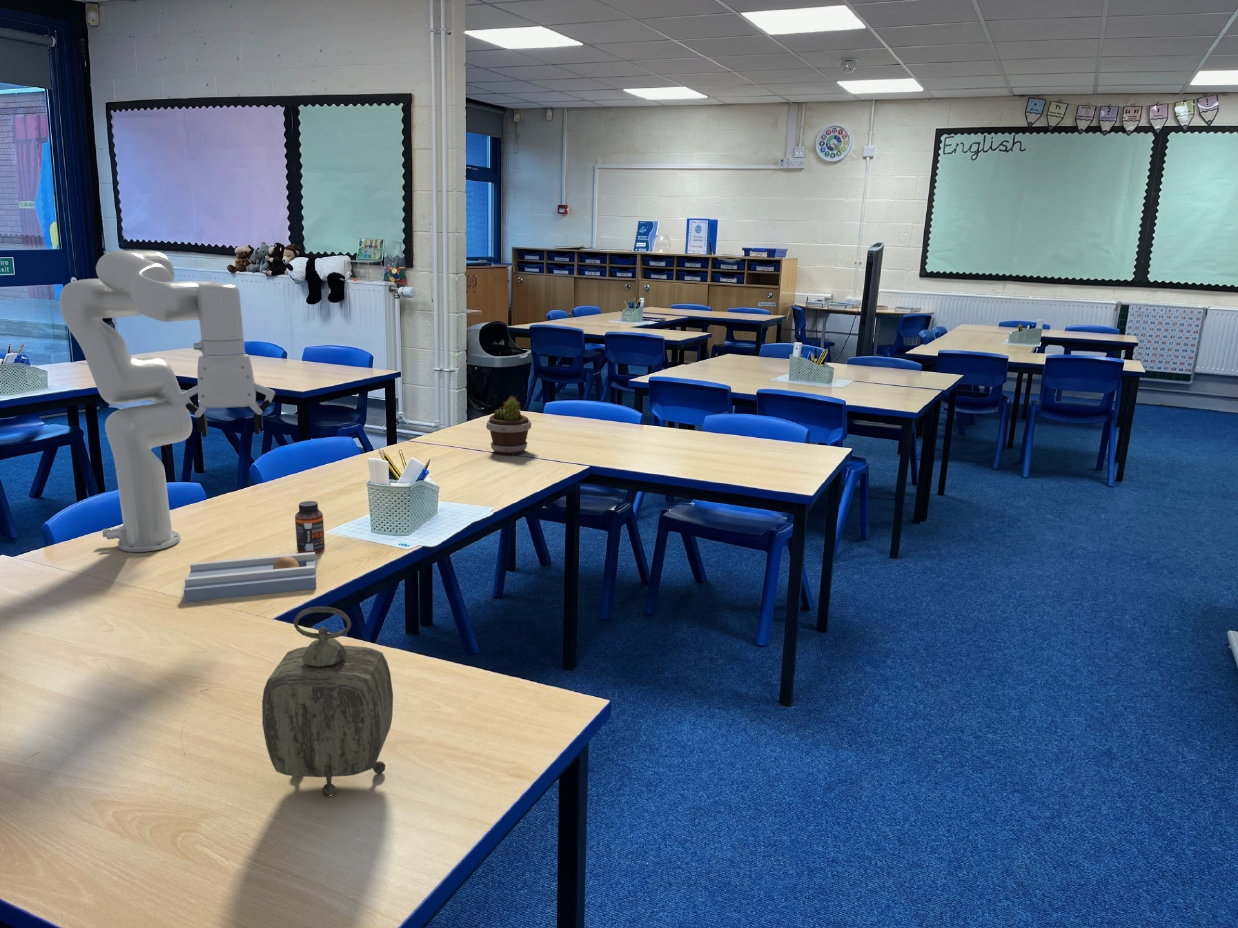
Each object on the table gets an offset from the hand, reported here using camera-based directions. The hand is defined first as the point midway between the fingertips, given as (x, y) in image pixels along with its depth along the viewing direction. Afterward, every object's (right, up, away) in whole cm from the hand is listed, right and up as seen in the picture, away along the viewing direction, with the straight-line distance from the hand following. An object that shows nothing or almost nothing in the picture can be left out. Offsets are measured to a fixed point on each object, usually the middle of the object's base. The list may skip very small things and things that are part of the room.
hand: (231, 434), depth 174 cm
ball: (+9, -27, +6) cm, 29 cm away
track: (+3, -30, +5) cm, 31 cm away
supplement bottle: (+8, -26, +23) cm, 35 cm away
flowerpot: (+41, -2, +116) cm, 123 cm away
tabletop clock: (+40, -48, -61) cm, 87 cm away
